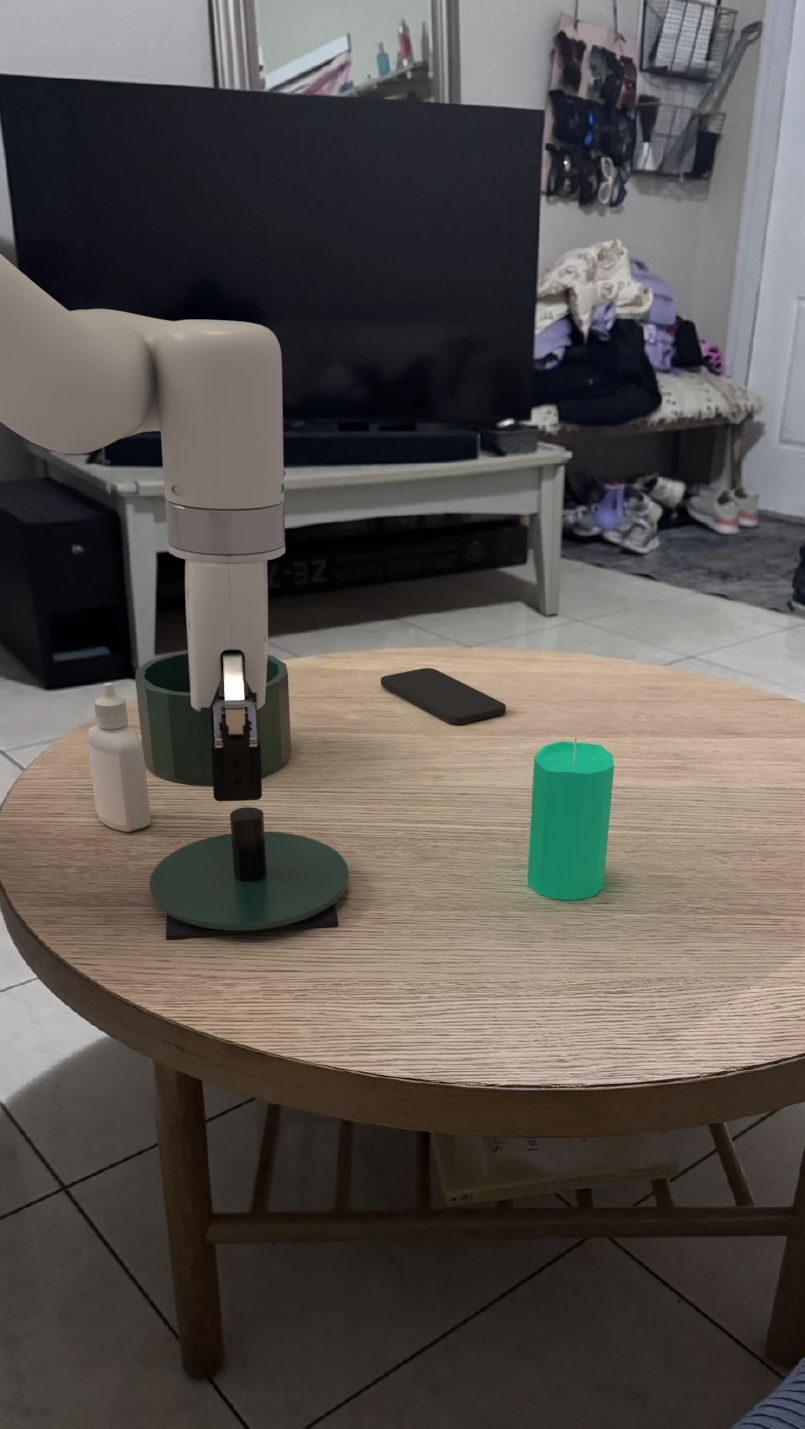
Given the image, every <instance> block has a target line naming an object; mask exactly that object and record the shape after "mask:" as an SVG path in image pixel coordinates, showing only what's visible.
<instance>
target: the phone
mask: <svg viewBox="0 0 805 1429" xmlns="http://www.w3.org/2000/svg"><path fill="white" fill-rule="evenodd" d="M380 685H381V687H383V688H385V689H387V690H389V691H391V692H392V693H394V694H396V695H398V696H399V697H402V698H403V699H405V700H407V701H409V702H411V703H412V704H415V705H416V706H417V707H420V708H421V709H423V710H425V711H427V712H428V713H431V714H432V715H434V716H436V717H437V718H439V719H441V720H444V721H445V722H447V723H450V724H454V725H461V724H466V723H471V722H476V721H479V720H484V719H488V718H493V717H497V716H501V715H504V714H505V713H506V711H507V705H506V704H505V703H504V702H501V701H500V700H498V699H496V698H494V697H492V696H490V695H488V694H486V693H484V692H482V691H479V690H478V689H476V688H474V687H472V686H470V685H468V684H466V683H465V682H462V681H460V680H458V679H456V678H454V677H452V676H450V675H448V674H447V673H444V672H442V671H439V670H438V669H435V668H431V667H423V668H418V669H412V670H408V671H401V672H398V673H392V674H389V675H388V674H387V675H383V676H381V678H380Z"/></svg>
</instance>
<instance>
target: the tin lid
mask: <svg viewBox="0 0 805 1429" xmlns="http://www.w3.org/2000/svg"><path fill="white" fill-rule="evenodd" d="M229 822H230V833H226V834H225V833H224V834H220V835H215V836H210V837H207V838H204V839H200V840H197V841H194V842H192V843H189V844H186V845H183V846H182V847H180V848H179V849H177V850H174V851H173V852H171V853H170V854H168V855H167V856H165V857H164V858H163V859H162V860H160V862H158V864H157V865H156V866H155V867H154V869H153V871H152V873H151V875H150V879H149V892H150V896H151V898H152V900H153V902H154V903H155V905H156V906H157V907H158V908H159V909H160V910H161V911H162V912H163V913H165V914H166V915H167V914H168V915H170V916H172V917H174V918H176V919H178V920H180V921H183V922H186V923H188V924H192V925H196V926H200V927H205V928H211V929H220V930H258V929H266V928H273V927H278V926H283V925H287V924H291V923H295V922H298V921H301V920H304V919H307V918H309V917H311V916H314V915H316V914H318V913H320V912H322V911H323V910H325V909H327V908H328V907H330V906H331V905H332V904H334V903H335V904H336V902H337V901H338V900H339V899H340V898H341V897H342V896H343V894H344V893H345V892H346V890H347V888H348V885H349V880H350V872H349V866H348V865H347V862H346V860H345V859H344V857H343V856H342V855H341V854H340V853H339V852H338V851H337V850H336V849H334V848H333V847H331V846H330V845H328V844H326V843H324V842H322V841H319V840H316V839H314V838H310V837H307V836H304V835H298V834H294V833H288V832H279V831H265V815H264V811H263V810H261V808H257V807H252V806H251V807H250V806H246V807H244V806H243V807H240V808H236V809H233V810H232V811H231V813H230V814H229Z"/></svg>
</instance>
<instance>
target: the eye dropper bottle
mask: <svg viewBox="0 0 805 1429" xmlns="http://www.w3.org/2000/svg"><path fill="white" fill-rule="evenodd" d="M93 705H94V713H95V721H96V725H93V726H91V727H90V728H89V729H88V730H87V733H86V745H87V752H88V762H89V769H90V780H91V787H92V794H93V803H94V809H95V814H96V817H97V818H98V820H99V821H100V822H101V823H102V824H104V826H106V827H109V828H111V829H113V830H116V831H121V832H125V833H130V832H131V833H132V832H134V831H137V830H141V829H144V828H147V827H148V826H150V825H151V822H152V819H151V809H150V808H151V807H150V799H149V789H148V781H147V772H146V770H147V769H146V765H145V761H144V753H143V746H142V740H141V737H140V736H139V735H138V733H137V732H136V731H135V730H134V729H133V727H131V726H130V725H129V724H128V723H129V720H128V710H127V702H126V699H125V698H124V697H123V696H119V695H118V694H116V690H115V687H114V684H113V683H112V682H105V683H103V685H102V695H101V696H100V697H98V698H96V699H95V700H94V701H93Z"/></svg>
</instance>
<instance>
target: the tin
mask: <svg viewBox="0 0 805 1429" xmlns="http://www.w3.org/2000/svg"><path fill="white" fill-rule="evenodd" d="M135 672H136V673H135V677H134V678H135V679H134V680H135V688H136V689H135V690H136V699H137V710H138V719H139V720H138V721H139V726H140V727H139V729H140V740H141V742H142V746H143V753H144V761H145V768H147V769H148V771H149V772H150V773H152V774H153V775H155V776H156V777H159V778H161V779H163V780H166V781H170V782H174V783H178V784H179V783H180V784H184V785H185V784H186V785H191V786H192V785H193V786H213V772H212V752H211V744H213V742H212V724H211V706H210V708H201V711H197V710H195V709H194V708H193V707H192V706H191V691H190V674H189V657H188V650H187V651H186V650H185V651H180V652H172V653H168V654H166V655H162V656H160V657H157V658H153V659H150V660H148V661H146V662H145V663H144V664H142V665H141V666H139V667H138V668H137V669H136V671H135ZM289 691H290V690H289V672H288V666H287V664H286V663H285V662H284V661H281V660H280V659H279V658H277V657H275V656H273V655H270V654H267V676H266V692H265V704H264V705H263V706H262V707H261V708H259V709H258V710H256V729H257V742H260V745H261V777H262V778H264V777H267V776H270V775H272V774H274V773H276V772H278V771H279V770H281V769H282V768H284V767H285V766H286V765H287V763H288V762H289V761H290V758H291V754H292V743H291V741H292V740H291V717H290V716H291V715H290V692H289ZM218 693H219V692H218ZM248 693H249V691H248Z"/></svg>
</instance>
